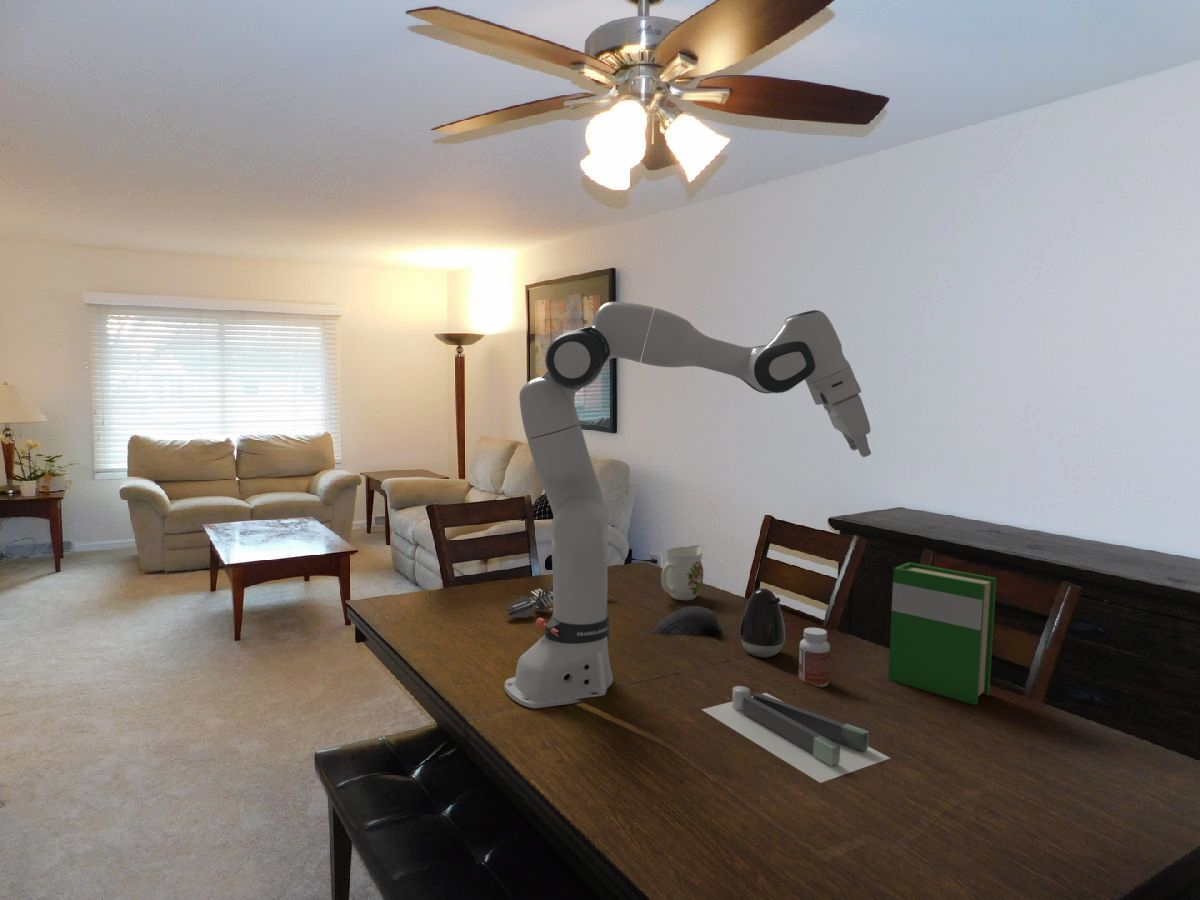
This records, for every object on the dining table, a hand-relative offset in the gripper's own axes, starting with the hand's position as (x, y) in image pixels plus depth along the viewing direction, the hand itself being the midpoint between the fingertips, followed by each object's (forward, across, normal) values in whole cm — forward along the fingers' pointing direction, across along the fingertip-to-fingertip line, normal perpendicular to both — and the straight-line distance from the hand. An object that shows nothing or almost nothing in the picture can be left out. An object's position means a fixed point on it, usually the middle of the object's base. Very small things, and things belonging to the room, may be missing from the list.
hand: (861, 452), depth 154 cm
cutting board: (+37, +24, -34) cm, 56 cm away
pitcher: (+32, -59, -53) cm, 86 cm away
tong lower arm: (+36, +25, -34) cm, 55 cm away
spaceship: (+18, -45, -82) cm, 96 cm away
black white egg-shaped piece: (+38, -17, -35) cm, 55 cm away
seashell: (+32, -31, -51) cm, 68 cm away
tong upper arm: (+37, +23, -30) cm, 53 cm away
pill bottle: (+42, -2, -27) cm, 50 cm away
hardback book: (+52, -3, -4) cm, 52 cm away
